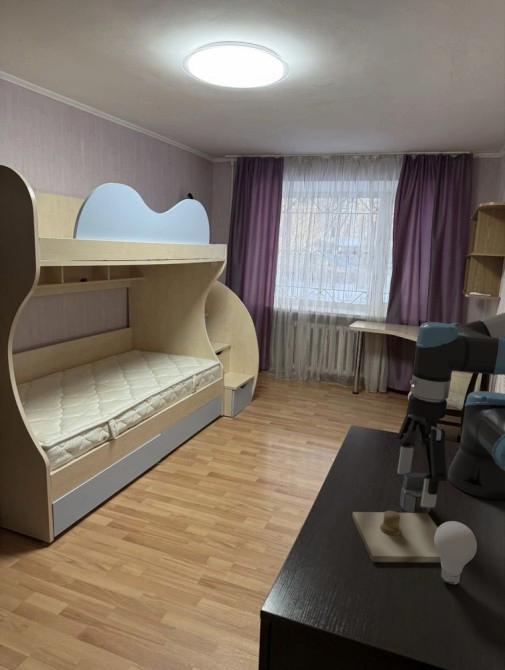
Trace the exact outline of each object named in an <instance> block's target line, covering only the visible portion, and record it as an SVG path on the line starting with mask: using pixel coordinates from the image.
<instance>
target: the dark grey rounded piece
mask: <svg viewBox="0 0 505 670" xmlns="http://www.w3.org/2000/svg"><path fill="white" fill-rule="evenodd" d="M403 475H404V476H403V483H402V486H401V489H400V497H399V498H400V499H399V506H400V508H401V509H402V511H404V512H405V513H428V514H429V513H430V512H431V508H432V507H422V506H421V500H422V493H423V486H424V480H425V478H424V476H426V475H427V472H410V473H405V474H403Z"/></svg>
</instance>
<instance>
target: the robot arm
mask: <svg viewBox="0 0 505 670" xmlns="http://www.w3.org/2000/svg"><path fill="white" fill-rule="evenodd" d="M414 353H415V354H414V362H413V371H412V377H411V380H409V384H410V389H409V390H410V394H409V396H408V403H407V410H406V414H405V416H404V419H403V421H402V425H401V427H400V429H399V431H398V433H397V439H398V440H399V444H400V449H399V456H398V458H399V459H398V466H397V474H398V475H404V474H405V473H411V471H412V470H411V469H412V462H413V456H414V455H413V454H414V449H415V448H414V447H415V446H416V444H415V442H416V441H417V440H418V439H419V444H420V446H422V451H423V455H424V461H425V468H426V469H425V470H426V473H427V475H426V476H424V478H425V480H424V486H423V493H422V500H421V506H422V507H431V508H436V504H437V497H438V490H439V486H440V485H439V484H440V482H446V481H447V480H448V481H449V482H450V483H451V484H452V485H453V486H454V487H456V488H458V489H459V490H461V491H463V492H465V493H466V494H469V495H472V496H475V497H478V498H483V499H486V500H487V499H488V500H497V501H499V500H505V393H501V392H493V391H481V390H479V391H471V392H470V393H469V394H468V395H467V397H466V402H465V404H464V412H463V413H464V414H463V420H462V428H461V436H460V443H459V449H458V451H457V453H456V454H455V456H454V458H453V460H452V461H451V463H450V465H449V467H448V473H447V463H446V450H445V448H446V446H445V438H446V431H445V429H439V428H438V421H439V420H443V419H444V418H445V417H446V413H447V406H448V401H447V399H448V398H449V396H450V395H449V394H450V389H451V388H450V387H451V382H452V381H451V380H452V374H453V372H459V373H460V372H461V373H473V374H484V375H485V374H486V375H493V376H497V375H499V376H500V375H501V376H505V312H503V313H499V314H495V315H492V316H489V317H486V318H482V319H479V320H475V321H474V320H473V321H471V322H468V323H465V324H464V323H460V322H455V323H454V322H453V323H445V322H438V321H435V322H434V321H427V322H424V323H422V324H421V325H420V326H419V329H418V333H417V339H416V342H415V351H414Z"/></svg>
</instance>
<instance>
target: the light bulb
mask: <svg viewBox="0 0 505 670" xmlns="http://www.w3.org/2000/svg"><path fill="white" fill-rule="evenodd" d="M437 527H438V528H437V530H436V532H435V536H434V543H435V547H436V549H437V551H438V553H439V555H440V558H441V562H440V565H441V570H440V571H441V572H440V576H441V579H442V580H443V581H444V582H446V584H450V585H457V584H459V583H460V580H461V579H460V577H461V574H462V572H463V569H464V568H465V565H466V564H468V563H469V562H470V561H471V560H472V559H474V557H475V555H476V553H477V549H478V543H477V538H476V536H475V535H474V532H473V531H472V530H471V528H469V527H468V525H465V524H463V523H461V522H459V521H454V520H450V521H445V522H443V523H441V524H440V525H438V526H437Z"/></svg>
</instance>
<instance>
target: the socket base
mask: <svg viewBox="0 0 505 670" xmlns="http://www.w3.org/2000/svg"><path fill="white" fill-rule="evenodd" d="M351 517H352V520H353V522H354V524H355V527H356V528H357V531H358V533H359V536H360V538H361V539H362V542H363V544H364V547H365V549H366V551H367V554H368V556H369V557H370V560H371V562H372V563H441V558H440V555H439V553H438V551H437V549H436V547H435V543H434V536H435V532H436V530H437V528H438V527H439V526H437V525H436V523H435V521H433V519H432V517H431V516H430V515H429V513H408V512H396V511H395V510H386V511H384V512H383V511H382V512H381V511H380V512H376V511H375V512H373V511H352V515H351Z"/></svg>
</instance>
